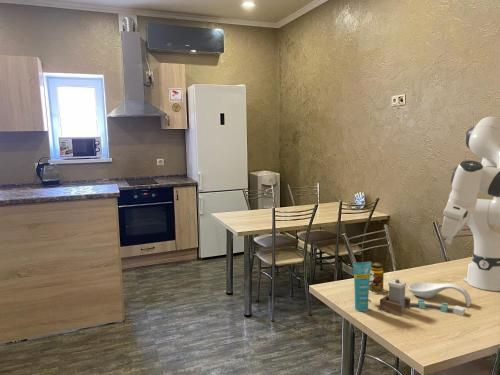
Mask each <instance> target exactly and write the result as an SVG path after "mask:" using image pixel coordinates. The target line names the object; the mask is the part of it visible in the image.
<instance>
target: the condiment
mask: <svg viewBox="0 0 500 375" xmlns="http://www.w3.org/2000/svg"><path fill="white" fill-rule="evenodd" d="M383 269H384V268H383V264H382V263H380V262H371V270H370V271H371V272H373V273H374V274H373V276H374V281H373V282H372V283H371V284H370V285H369V290H370V291H372V292H371V293H373V294H374V295H375V294H382V293H385V292H388V290H387V289H385V288H384V280H385V278H384V270H383ZM370 291H369V292H370Z"/></svg>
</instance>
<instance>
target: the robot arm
mask: <svg viewBox="0 0 500 375" xmlns="http://www.w3.org/2000/svg"><path fill="white" fill-rule="evenodd" d="M464 142H465V146H466V147H467V149H469V150H470V151H471V153H473V154H474V155H476V156H477V157H479V158H482V160H481V163H480V162H479V161H476V160H470V159H469V160H468V159H467V160H463V161H461V162H459V163H458V165H457V166H456V167H454V169H453V171H452V174H451V178H450V184H451V191H450V193H449V196H448V200H447V203H446V205H445V208H444V209H443V212H442V215H443V219H442V220H443V221H442V224H441V225H442V226H441V236H443V237H445V244H447V245H451V244H452V243H453V240H454V237H455V235H461V232H462V230H463V227H464V225H465V224H466V225H467V227H469V229H470V231H471V234H472V236H473V252H472V255H471V256H472V257H471V258H472V261H471V262H469V264H468V265H467V266H468V268H467V276H465V277H463V281H464V282H467V284H469V285H470V286H472V287H474V288H475V289H480V290H484V291H491V292H492V291H493V292H500V234H499V233H497V232H495V231H493V230H492V229H491V228H490V227H489V225H493V226H500V119H499V118H498V117H497V116H496V117H495V116H486V117H484V118H481V119H480V120H479V121H478V122H477V124H475V126H473V127H470V128H469V129H467V131H466V133H465V136H464ZM478 194H484V195H489V196H491V197H493V198H492V199H488V198H487V199H486V198H478Z"/></svg>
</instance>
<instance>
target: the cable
mask: <svg viewBox="0 0 500 375" xmlns="http://www.w3.org/2000/svg"><path fill="white" fill-rule="evenodd" d="M410 308H419V303H418V302H410ZM426 308H427V309H435V310H439V311H441V305H437V304H432V303H429V304H428V303H425V309H426ZM447 312H449V313H453V314H456V315H458V316H462V317H463V316H464V315H465V314H466V307H462V306H461V305H455V306H453V307H452V308H451V307H448V308H447Z"/></svg>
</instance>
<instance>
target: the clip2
mask: <svg viewBox="0 0 500 375" xmlns="http://www.w3.org/2000/svg"><path fill="white" fill-rule="evenodd" d="M417 303H419V307H418V308H419V309H422V310H423V309H426V308H425V304H426V302H425V300H424V299H417Z"/></svg>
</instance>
